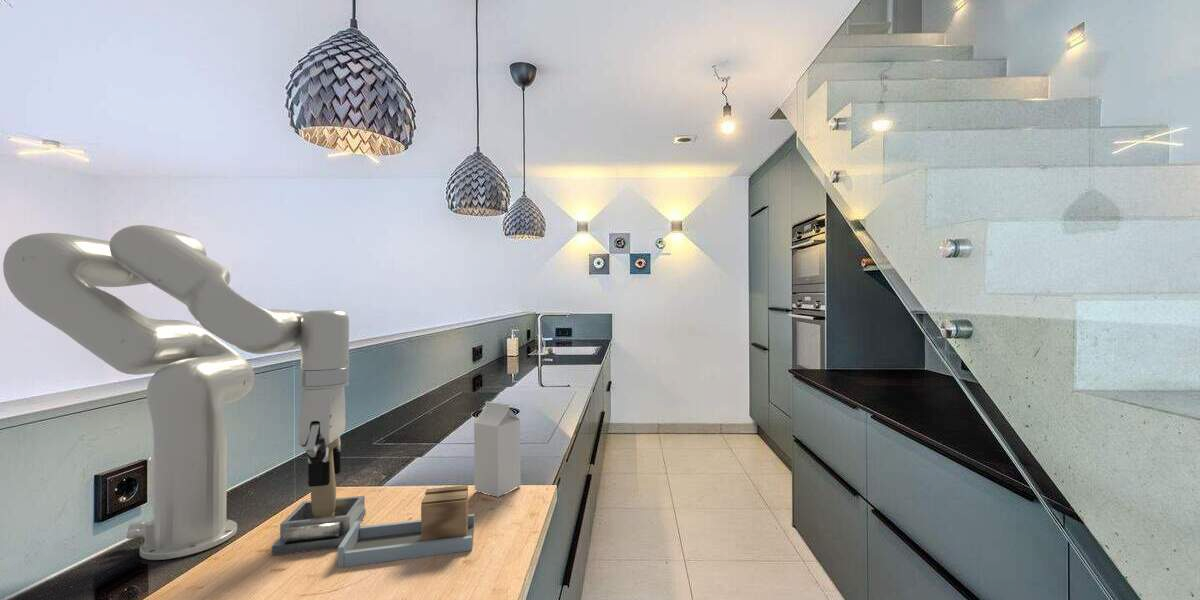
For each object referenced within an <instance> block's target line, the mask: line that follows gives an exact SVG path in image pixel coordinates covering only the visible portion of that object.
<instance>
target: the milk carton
mask: <svg viewBox="0 0 1200 600" xmlns="http://www.w3.org/2000/svg"><path fill="white" fill-rule="evenodd" d="M484 403H485V405H484V408H483V409H482V410H481V412H480V413H479V415H478V416H477V418H476V419H475V421H474V422H473V423H474V424H473V429H474V430H473V432H474V433H473V434H474V435H473V438H474V439H473V441H474V442H473V443H474V445H473V446H474V447H473V448H474V452H473V453H474V454H473V455H474V457H473V458H474V461H473V462H474V491H475V490H477V491H480V492H484V493H487V494H490V495H494V496H497V497H499V496H501V495H503V494H504V493H506V492H509V491H510V490H512V489H514V488H515V487H519V486H521V487H522V471H521V469H522V467H521V466H522V465H521V464H522V463H521V459H522V457H521V456H522V455H521V419H520V418H519V417H518V416H517V415H516V414H515V413H514V412H513V411H512V410H511V409H510V404H509V403H503V402H502V403H501V402H494V401H493V402H492V401H485V402H484ZM519 488H520V487H519ZM509 493H510V492H509ZM503 496H504V495H503ZM497 497H496V498H497ZM501 497H502V496H501ZM499 498H500V497H499Z"/></svg>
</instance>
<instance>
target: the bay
mask: <svg viewBox="0 0 1200 600" xmlns="http://www.w3.org/2000/svg"><path fill="white" fill-rule="evenodd" d="M474 531H475V513H471V514H470V513H468V532H467V536H464V537H456V538H448V539H439V540H431V541H423V542H421V519H416V520H407V521H399V522H390V523H382V524H381V523H380V524H373V525H372V524H371V525H370V524H369V525H362V526H361V525H360V521H355V523H354V524H353V526H352V527H351V529H350V530H349V532H348V533H347V535H346V536H345V538H344V539H343V541H342V542H341V544H340V545H339V547H338V548H337V568H343V567H351V566H352V567H353V566H360V565H367V564H369V565H370V564H376V563H383V562H391V561H399V560H406V559H413V558H420V557H421V558H422V557H429V556H430V557H431V556H438V555H439V556H440V555H445V554H446V555H447V554H452V553H462V552H469V551H473V544H474Z"/></svg>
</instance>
